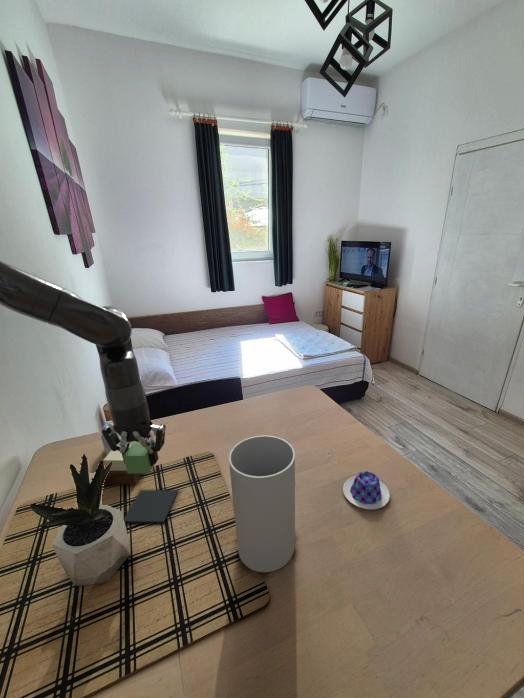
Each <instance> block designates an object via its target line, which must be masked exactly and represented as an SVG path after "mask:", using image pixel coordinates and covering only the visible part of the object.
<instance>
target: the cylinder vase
mask: <svg viewBox="0 0 524 698" xmlns="http://www.w3.org/2000/svg"><path fill="white" fill-rule="evenodd" d="M228 464H229V473H230V474H229V475H230V483H231V495H232V504H233V505H232V506H233V515H234V524H235V535H236V546H237V553H238V557H239V559H240V561H241V562H242V563H243V564H244V566H246V567H247V568H248V569H249V570H252V571H254V572H258V573H271V572H276V571H278V570H280V569H281V568H283V567H285V565H286V564H288V563H289V562H290V560H291V559H292V558H293V555H294V553H295V547H296V452H295V449H294V446H292V444H291V443H290V442H288V441H287V440H286V439H284V438H281V437H279V436H275V435H267V434H266V435H263V434H262V435H255V436H250V437H248V438H244V439H242V440H241V441H239V442H237V444H235V445H234V446H233V447H232V449H231V450H230V452H229V455H228Z"/></svg>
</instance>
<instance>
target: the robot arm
mask: <svg viewBox="0 0 524 698" xmlns="http://www.w3.org/2000/svg"><path fill="white" fill-rule="evenodd" d="M0 306H2V307H3V308H6V309H8V310H10V311H13V312H15V313H17V314H20V315H22V316H25V317H28V318H31V319H33V320H36V321H39V322H42V323H44V324H48V325H50V326H54V327H57V328H60V329H62V330H65V331H66V332H69V333H70V334H72V335H74V336H75V337H78V338H80V339H82V340H85V341H86V342H88V343H90V344H93V345H95V347H96V350H97V354H98V358H99V368H100V374H101V379H102V382H103V386H104V392H105V393H104V394H105V398H106V402H107V407H108V409H109V414H110V418H111V421H112V422H113V424H114V425H111V424H108V425H107V426H106V427H105V428H104V429H103V428H102V429H103V430H101V433H102V434H103V436H104V437H105V439H106V441H107V443H108V444H109V446H110V448H111V450H112V451H116V450H117V451H120V453H122V457H123V456H124V454H125V453H126V452H127V450H128V449H129V446H130V445H131V443H132V442H133V443H134V442H135V443H140V444H141V445H142V447H145V448H146V450H147V451H148V456H149V461H150V465H151V466H153V467H154V466H155V465H156V464H157V462H158V461H159V454H158V452H160V451H161V450H162V448H163V446H164V445H165V438H166V429H167V427H166V424H165V423H161V424H160V425H157V424H154V423H153V422H152V420H151V418H150V417H151V416H150V414H151V413H150V409H149V404H148V400H147V395H146V390H145V387H144V383H143V381H142V377H141V372H140V367H139V363H138V361H137V357H136V355H135V353H134V347H133V341H132V333H133V331H132V330H133V329H132V326H131V322H130V321H129V318H128V317H127V315H126V314H125V312H124V311H122V310H121V309H119V308H118V307H115V306H112V305H111V306H110V305H105V306H99V305H97V304H94V303H92V302H91V301H90V302H89V301H88V300H85V299H83V298H82V297H81V296H79V295H78V294H77V293H75V292H74V291H71V290H70V289H67V288H64V287H63V286H61V285H58V284H55V283H53V282H51V281H48V280H46V279H44V278H41V277H39V276H36V275H34V274H31V273H29V272H26V271H24V270H22V269H20V268H17V267H15V266H12V265H11V264H8V263H6V262H5V261H4V262H3V261H1V260H0ZM151 431H152V432H153V434H152V432H151ZM116 432H117V433H118V434H119V435H120V436H121V441H120V439H119V437H118V435H117V433H116ZM154 436H155V439H154ZM114 442H115V443H114ZM123 461H124V457H123ZM124 463H125V461H124Z"/></svg>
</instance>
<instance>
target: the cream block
mask: <svg viewBox="0 0 524 698" xmlns="http://www.w3.org/2000/svg"><path fill="white" fill-rule="evenodd" d="M131 445H132V444H130V446H131ZM130 446H129V448H130ZM102 461H103V465H104V468H106V467H107V466H108V465H109V464H110V463H111V462H112V466H111V469H110V471H127V469H126V465H125V463H124V461H123V457H122V453H120V451H117V450H116V451H112V450H111V451H110V453H109V454H108V455H106V456H105V457H104V458H103V460H102Z"/></svg>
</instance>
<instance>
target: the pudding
mask: <svg viewBox="0 0 524 698" xmlns="http://www.w3.org/2000/svg"><path fill="white" fill-rule="evenodd" d="M342 493H343V495H344V496H345V498H346V500H348V502H349V503H351V504H352V505H354V506H356V507H358V508H360V509H365V510H378V509H380V508H383V507H385V506H386V505H387V504H388V502H389V501H390V499H391V498H390V497H391V495H390V494H391V493H390V490H389V488H388V487H387V485H385V483H384V482H382V481H381V480H380V479H379V477H378V476H377V475H376V474H375V473H374V472H371V471H370V472H369V471H368V470H364V471H359V472H358V473H357V474H356V475H355V476H351V477H349V478H348V479H346V480H345V481H344V483H343V486H342Z"/></svg>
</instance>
